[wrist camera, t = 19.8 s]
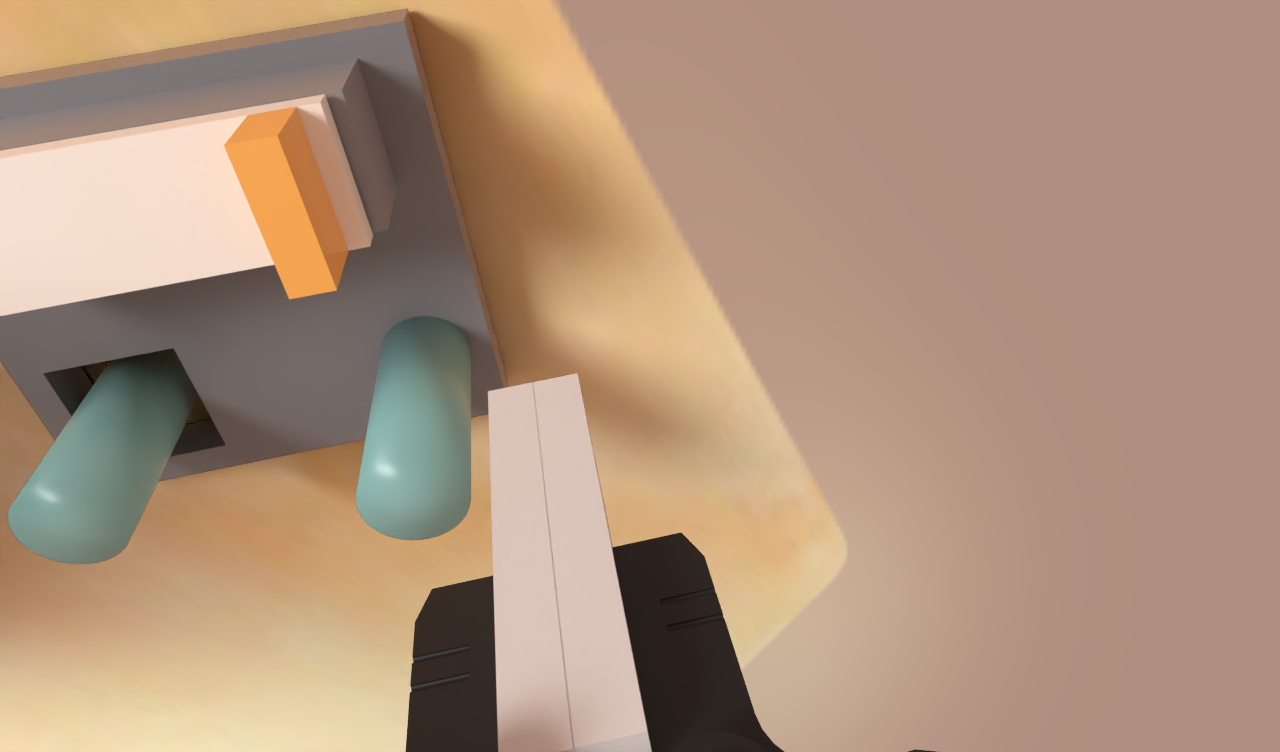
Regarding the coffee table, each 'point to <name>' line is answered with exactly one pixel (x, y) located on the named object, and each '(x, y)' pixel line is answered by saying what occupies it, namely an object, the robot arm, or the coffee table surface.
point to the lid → (180, 206)
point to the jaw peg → (105, 461)
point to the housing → (256, 299)
